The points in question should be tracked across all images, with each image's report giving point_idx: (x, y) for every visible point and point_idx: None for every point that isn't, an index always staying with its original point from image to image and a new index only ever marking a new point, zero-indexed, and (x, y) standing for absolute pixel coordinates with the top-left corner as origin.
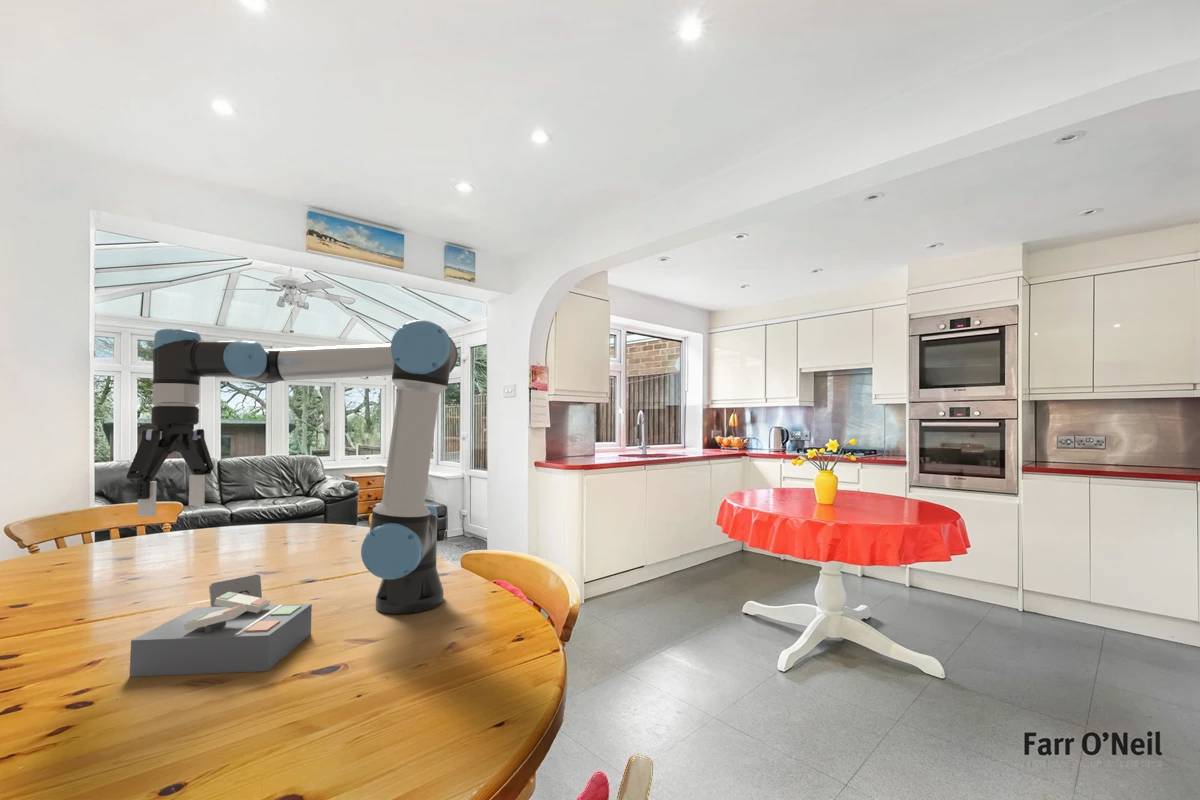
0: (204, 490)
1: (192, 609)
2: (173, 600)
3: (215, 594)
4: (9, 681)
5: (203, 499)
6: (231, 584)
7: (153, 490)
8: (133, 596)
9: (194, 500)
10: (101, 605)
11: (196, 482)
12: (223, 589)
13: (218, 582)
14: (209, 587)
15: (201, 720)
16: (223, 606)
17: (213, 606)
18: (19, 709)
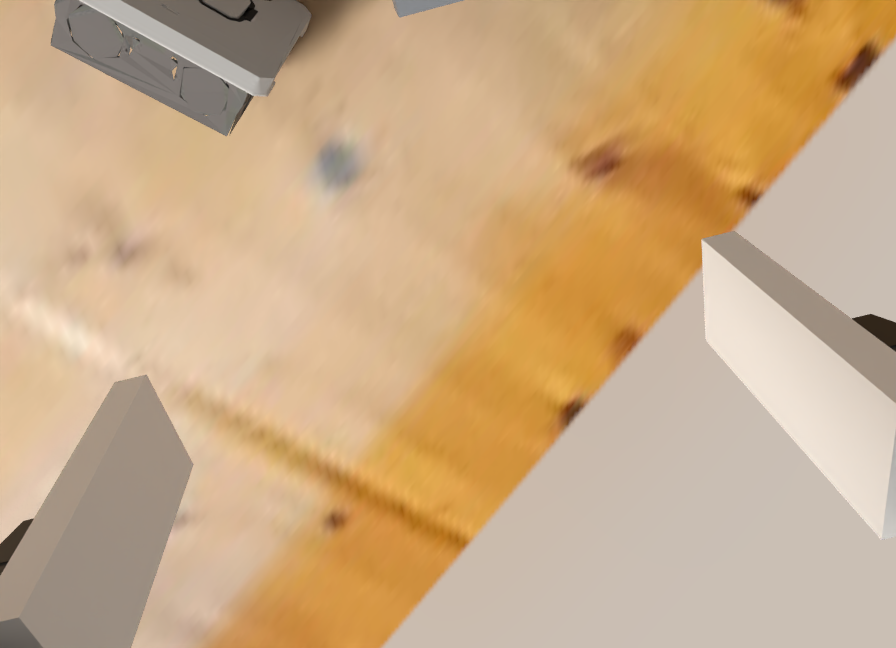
0: (66, 470)
1: (425, 6)
2: None
3: (269, 50)
4: None
5: (111, 410)
6: (192, 24)
7: (867, 339)
8: None
9: (164, 456)
10: (231, 578)
11: (95, 587)
12: (234, 36)
13: (238, 64)
14: (270, 90)
15: None
16: (258, 11)
17: (291, 36)
18: (867, 49)
